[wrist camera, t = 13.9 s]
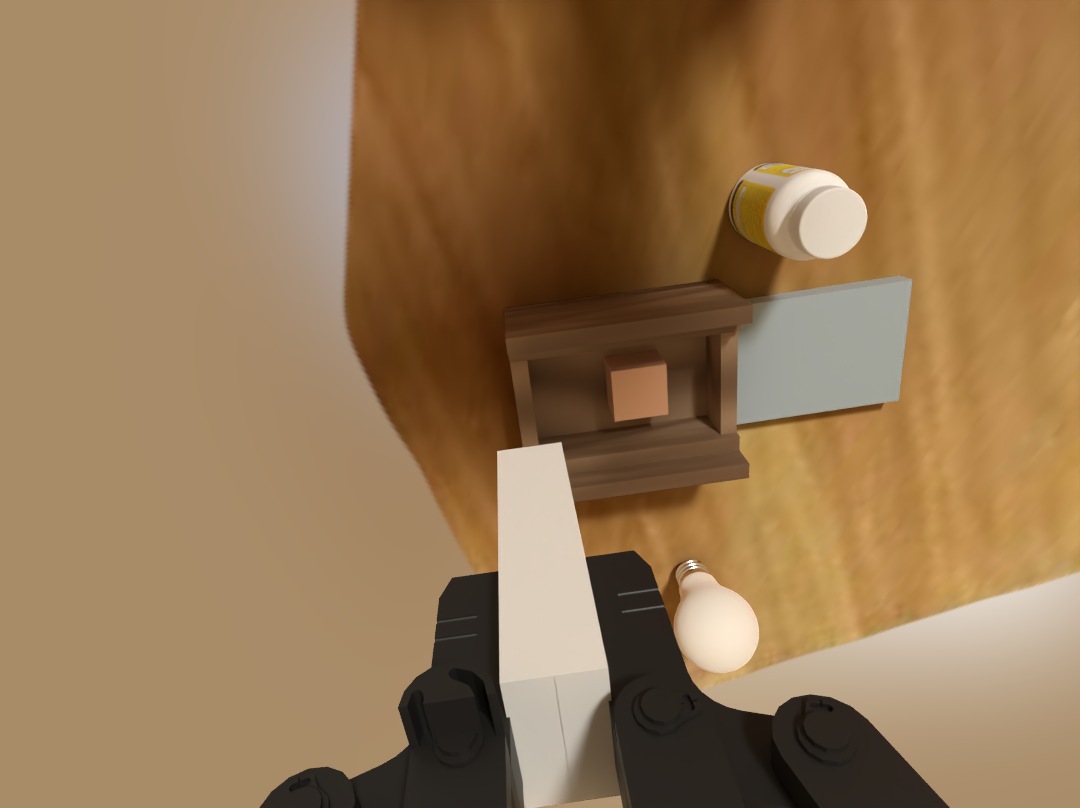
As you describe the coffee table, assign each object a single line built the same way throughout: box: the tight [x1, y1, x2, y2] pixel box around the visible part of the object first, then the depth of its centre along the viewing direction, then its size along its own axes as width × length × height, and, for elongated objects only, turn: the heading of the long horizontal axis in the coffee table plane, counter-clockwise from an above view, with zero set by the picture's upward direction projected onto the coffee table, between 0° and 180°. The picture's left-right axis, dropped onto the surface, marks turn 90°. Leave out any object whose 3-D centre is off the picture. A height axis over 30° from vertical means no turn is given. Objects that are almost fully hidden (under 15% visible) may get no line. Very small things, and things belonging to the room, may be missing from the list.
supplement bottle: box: [729, 163, 867, 261], centre depth 40 cm, size 5×5×10 cm
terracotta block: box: [604, 350, 668, 422], centre depth 47 cm, size 4×4×3 cm
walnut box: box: [504, 280, 753, 502], centre depth 46 cm, size 13×16×7 cm
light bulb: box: [674, 559, 759, 673], centre depth 52 cm, size 7×7×11 cm
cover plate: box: [737, 275, 912, 425], centre depth 49 cm, size 10×14×2 cm
